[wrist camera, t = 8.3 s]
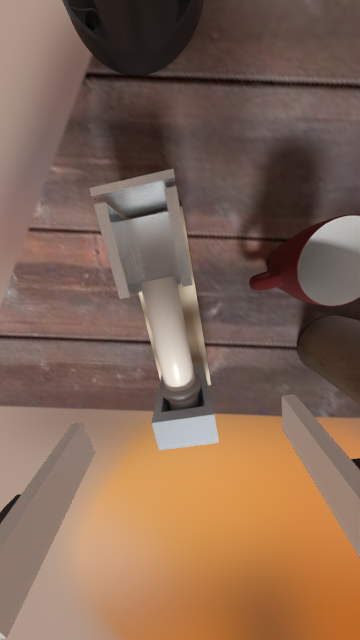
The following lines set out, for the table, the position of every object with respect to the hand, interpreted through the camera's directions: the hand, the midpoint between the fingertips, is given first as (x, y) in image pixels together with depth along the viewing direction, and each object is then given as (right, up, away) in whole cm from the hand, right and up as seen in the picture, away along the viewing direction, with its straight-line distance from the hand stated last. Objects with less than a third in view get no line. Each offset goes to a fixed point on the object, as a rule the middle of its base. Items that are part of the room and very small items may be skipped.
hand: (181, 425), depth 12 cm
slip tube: (-1, +4, +13) cm, 13 cm away
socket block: (+1, -3, +18) cm, 19 cm away
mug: (+14, +14, +14) cm, 25 cm away
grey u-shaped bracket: (-3, +16, +13) cm, 21 cm away
